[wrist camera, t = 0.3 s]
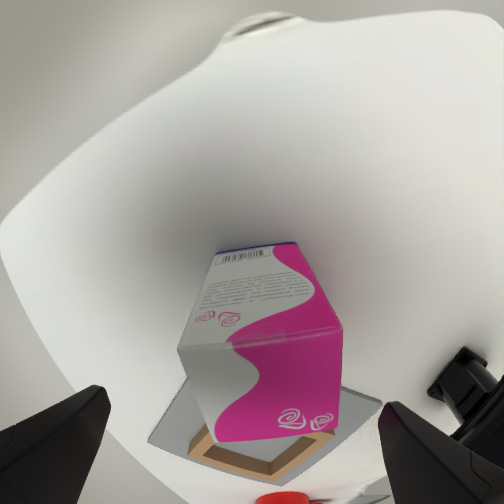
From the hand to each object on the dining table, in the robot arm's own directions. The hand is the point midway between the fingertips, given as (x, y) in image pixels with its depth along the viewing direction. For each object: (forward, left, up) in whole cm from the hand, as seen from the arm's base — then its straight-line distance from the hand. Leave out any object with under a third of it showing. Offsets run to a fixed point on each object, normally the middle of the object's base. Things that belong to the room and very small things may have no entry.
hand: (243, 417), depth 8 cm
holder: (-9, +14, -13) cm, 22 cm away
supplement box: (-1, 0, -14) cm, 14 cm away
